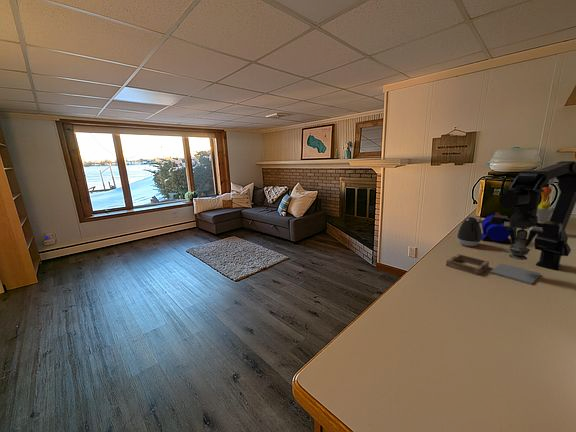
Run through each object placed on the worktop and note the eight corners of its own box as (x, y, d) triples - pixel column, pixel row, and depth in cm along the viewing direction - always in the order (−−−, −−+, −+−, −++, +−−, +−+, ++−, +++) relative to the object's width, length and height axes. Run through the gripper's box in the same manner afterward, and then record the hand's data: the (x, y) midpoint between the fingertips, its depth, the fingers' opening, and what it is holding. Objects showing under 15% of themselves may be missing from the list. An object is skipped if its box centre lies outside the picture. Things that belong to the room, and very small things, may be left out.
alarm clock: (507, 238, 132) (511, 212, 129) (512, 245, 122) (517, 217, 119) (479, 235, 139) (483, 210, 135) (482, 242, 129) (486, 215, 125)
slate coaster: (500, 264, 102) (500, 263, 102) (540, 275, 92) (540, 273, 92) (490, 273, 96) (490, 271, 96) (531, 284, 86) (531, 282, 86)
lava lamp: (523, 230, 143) (533, 171, 135) (541, 231, 141) (552, 171, 133) (534, 235, 134) (547, 172, 126) (554, 235, 132) (567, 172, 124)
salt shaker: (532, 260, 89) (538, 229, 86) (514, 259, 90) (519, 229, 88) (521, 254, 95) (526, 225, 92) (504, 253, 96) (508, 225, 93)
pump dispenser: (474, 249, 119) (478, 220, 116) (452, 244, 128) (455, 216, 125) (484, 245, 124) (489, 217, 120) (462, 240, 133) (466, 213, 129)
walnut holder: (457, 258, 110) (458, 253, 109) (488, 267, 101) (489, 261, 100) (446, 265, 104) (446, 260, 103) (477, 275, 95) (478, 269, 94)
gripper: (487, 205, 91) (482, 243, 95) (559, 212, 76) (550, 257, 79) (497, 201, 97) (492, 237, 101) (567, 207, 82) (557, 249, 85)
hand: (520, 244), depth 91 cm, fingers closed on salt shaker, 3 cm apart
